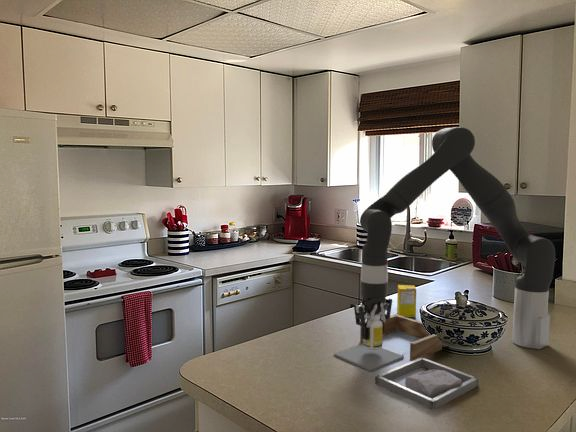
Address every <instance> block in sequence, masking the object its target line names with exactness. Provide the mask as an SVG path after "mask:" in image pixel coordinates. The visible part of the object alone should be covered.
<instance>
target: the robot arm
mask: <svg viewBox="0 0 576 432" xmlns="http://www.w3.org/2000/svg"><path fill="white" fill-rule="evenodd" d="M475 144H476V137H475V135H474V134H473V132H472V131H471V130H470V129H469V128H466V127H463V126H462V127H461V126H454V127H445V128H442V129H440V130H437V131H436V132H435V133H434V134H433V137H432V140H431V148H432V151H433V153H432V154H431V156H430V157H429V158H427V159H426V160H425V161H423V163H421V164H420V165H418V166H417V167H415V168H414V169H411V171H409V172H408V173H407V174H405V175H404V176H403V177H402V178H401V179H399V180H398V181H397V182H396V183H395V184H394V185H393V186H392V187H391V188H390V189H389V190H388V191H387V192H386V194H384V195H383V196H381V197H380V198H378V199H377V200H376V201H374V202H373V203H372V204H370V205H369V206H367V208H366V209H365V210H364V211H363V212H362V214H361V215H360V218H359V224H360V227H361V229H363V230H364V231H365V232H366V233H367V235H366V242H365V243H364V244H363V245H362V252H361V254H362V255H361V258H362V260H361V269H360V295H361V297H362V301H361V303H360V304H359V305H358V304H354V306H353V309H354V317H355V318H354V319H355V325H357V326H360V328H361V327H362V335H361V336H362V338H363V339H365V340H369V339H370V327H369V326H370V323H371V320H373V317H374V315H375V314H380V321H381V322H382V325H383V328H382V336H384V335H383V334H384V323H385V322H386V319H389V318H390V316H391V312H392V306H393V299H392V298H390V297H388V288H389V287H388V283H389V282H388V281H389V278H388V277H389V272H388V271H389V270H388V249H389V245H390V241H391V236H392V230H393V223H392V218H393V216H395V215H397V214H401V213H403V212H405V211H406V210H407V209H408V208H409V207H410V206H411V205H412V204H413V203H414V202H415V201H416V200H417V199H418V198H419V197H420V196H421V195H422V194H423V193H424V192H425V191H426V190H427V189H428V188H430V186H432V184H434V183H435V182H436V181H437V180H438V179H439V178H441V177H443V175H445V174H446V173H447V172H448V171H450V172H451V173H452V174H453V175H454V176H455V177H456V179H457V180H458V182H459V183H460V184H461V186H462V187H463V189H464V190H465V191H466V192H467V194H468V195H469V196H470V198H471V199H472V200H473V202H474V203H475V205H476V206H477V208H478V209H479V211H481V213H482V214H483V215H484V217H485V218H486V219H487V220H488V221H489V223H490V224H491V226H493V228H494V229H495V230H496V232H497V233H498V234H499V236H500V237H501V239H502V240H503V242H504V244H505V245H506V247H507V249H508V250H509V252H510V254H511V255H512V257H513V259H515V261H517V262H519V264H522V265H525V269H524V274H523V275H520V276H518V277H516V278H515V281H514V282H515V284H514V297H513V298H514V299H513V300H514V303H513V318H512V335H511V337H512V338H511V342H512V343H514V344H515V345H517V346H520V347H522V348H527V349H536V350H541V349H544V348H545V347H547V346H549V338H550V323H551V315H550V314H549V313H548V310H549V309H548V308H549V293H550V285H551V283H552V281H553V278H554V271H555V262H556V248H555V245H554V243H553V242H552V240H550V239H547V238H544V237H541V236H536V235H533V234H531V233H530V232H529V231H528V230H527V229H526V227H524V225H523V224H522V222H521V221H520V219H519V217H518V215H517V209H516V204H515V201H514V198H513V196H512V195H511V194H510V192H509V191H508V189H507V188H506V187H505V186H504V184H503V183H502V182H501V181H500V180H499V179H498V178H497V177H496V176H495V175H493V174H492V173H491V172H489V171H488V170H487V169H485V168H484V167H483V166H482V165H480V164H479V163H478V162H477V161H476V160H475V159H474V158H473V156H472V155H471V154H472V152H473V151H474V148H475ZM366 313H367V314H369V315H370V316H367V315H366ZM366 318H367V319H366ZM365 320H367V322H365Z"/></svg>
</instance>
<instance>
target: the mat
mask: <svg viewBox="0 0 576 432" xmlns="http://www.w3.org/2000/svg"><path fill="white" fill-rule="evenodd" d="M333 356H334V357H337V358H339V359H341V360H343V361H346V362H348V363H350V364H353V365H354V366H357V367H359V368H362V369H364V370H366V371H368V372H370V373H371V372H374V371H375V370H378V369H381V368H383V367H386V366H389V365H391V364H394V363H396V362H398V361H400V360H403V359H404V357H405V356H404V355H401V354H399V353H397V352H393V351H391V350H388V349H386V348H384V347H382V348H380V349H377V350H372V349H367V348H365V347H364V345H363V343H359V344H357V345H354V346H351V347H349V348H345V349H342V350H340V351H337V352H334V353H333Z"/></svg>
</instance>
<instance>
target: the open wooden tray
mask: <svg viewBox="0 0 576 432" xmlns="http://www.w3.org/2000/svg"><path fill="white" fill-rule="evenodd" d="M396 331H397V332H399V333H402V334H405V335H408V336H411V337H414V338H417V340H415V341H412V342H411V341H410V343H409V361H410V362H411V361H413V360H415V359H418V358H420V357H422V358H425V357H427V356H429V355H432V354H434V353H437V352H439V351H441V350H443V349H442V341H441V340H440V339H439V338H438V337H437V335H435V334H432V335H431V334H429V333H428V332H427V331H426V329H425V328H424V326H423V324H422V321H419V320H416V319H410V318H406V317H403V316H400V315H398V314H397V313H396V314H393V315H390V318H389V319H386V322H385V323H384V334H383V335H382V336H385V335H388V334H391V333H394V332H396ZM359 335H360V337H359V339H360V342H362V343H363V338H362V336H361V335H362V327H361V326H360V333H359Z"/></svg>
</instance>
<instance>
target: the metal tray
mask: <svg viewBox="0 0 576 432" xmlns="http://www.w3.org/2000/svg"><path fill="white" fill-rule="evenodd" d="M420 367H422V368H425V369H427V370H433V369H435V370H443V371H446V372H448V373H451V374H452V375H454V376H456V377H457V378H459V379H460V380H461V381H462V384H460V385H458V386H456V387H454V388H452V389H450V390H448V391H446V392H444V393H442V394H441V395H439V396H437V397H435V398H433V399H431V398H429V397H427V396H425V395H422V394H420V393H418V392H415V391H413V390H411V389H409V388H406V386H404V385H401V384H399V383H397V382H395V381H392V380H394V379H395V378H397V377H398V378H399V377H400V376H402V375H404V374H405V375H406V374H407V373H410V372H411V371H414V370H417V369H419V368H420ZM374 383H375V385H376V386H379V387H381V388H384V389H385V390H388V391H390V392H392V393H395V394H397V395H398V396H401V397H403V398H405V399H408V400H410V401H413V402H414V403H417V404H419V405H421V406H423V407H425V408H427V409H429V410H431V411H434V410H436V409H438V408H440V407H442V406H443V405H445V404H447V403H449V402H451V401H453V400H454V399H456V398H458V397H460V396H462V395H464V394H466V393H468V392H470V391H471V390H473V389H475V388H476V387H478V386H479V377H476V376H473V375H470V374H468V373H465V372H463V371H460V370H457V369H454V368H452V367H449V366H446V365H443V364H441V363H439V362H437V361H433V360H430V359H428V358H425V357H420V358H418V359H415V360H413V361H411V360H410V361H408V362H405V363H404V364H401V365H399V366H397V367H396V366H395V367H394V368H392V369H389V370H387V371H385V372H383V373H380V374H377V375H375V381H374Z"/></svg>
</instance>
